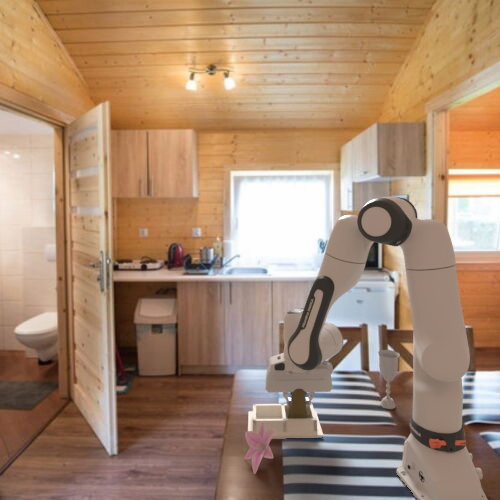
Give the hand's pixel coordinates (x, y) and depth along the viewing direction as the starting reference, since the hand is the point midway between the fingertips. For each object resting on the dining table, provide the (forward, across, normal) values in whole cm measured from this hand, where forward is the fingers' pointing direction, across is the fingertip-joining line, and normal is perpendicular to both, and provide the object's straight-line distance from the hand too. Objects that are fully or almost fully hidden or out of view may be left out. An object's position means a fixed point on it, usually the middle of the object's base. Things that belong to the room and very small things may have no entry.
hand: (298, 404), depth 122 cm
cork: (+5, 0, 0) cm, 5 cm away
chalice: (+7, -31, -12) cm, 34 cm away
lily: (+7, +12, +17) cm, 22 cm away
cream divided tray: (+7, +5, 0) cm, 8 cm away
